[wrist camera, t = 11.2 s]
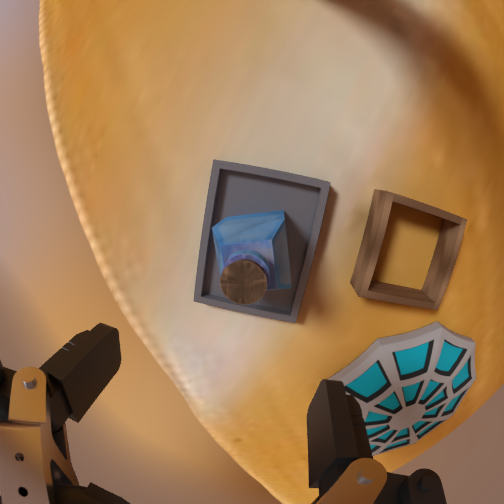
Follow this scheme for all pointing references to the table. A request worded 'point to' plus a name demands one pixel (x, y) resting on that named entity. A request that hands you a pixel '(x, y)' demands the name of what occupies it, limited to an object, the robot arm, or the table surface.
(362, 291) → the holder
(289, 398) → the table surface
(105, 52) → the table surface
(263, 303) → the tray
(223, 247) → the perfume bottle
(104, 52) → the table surface
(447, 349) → the decorative platform
